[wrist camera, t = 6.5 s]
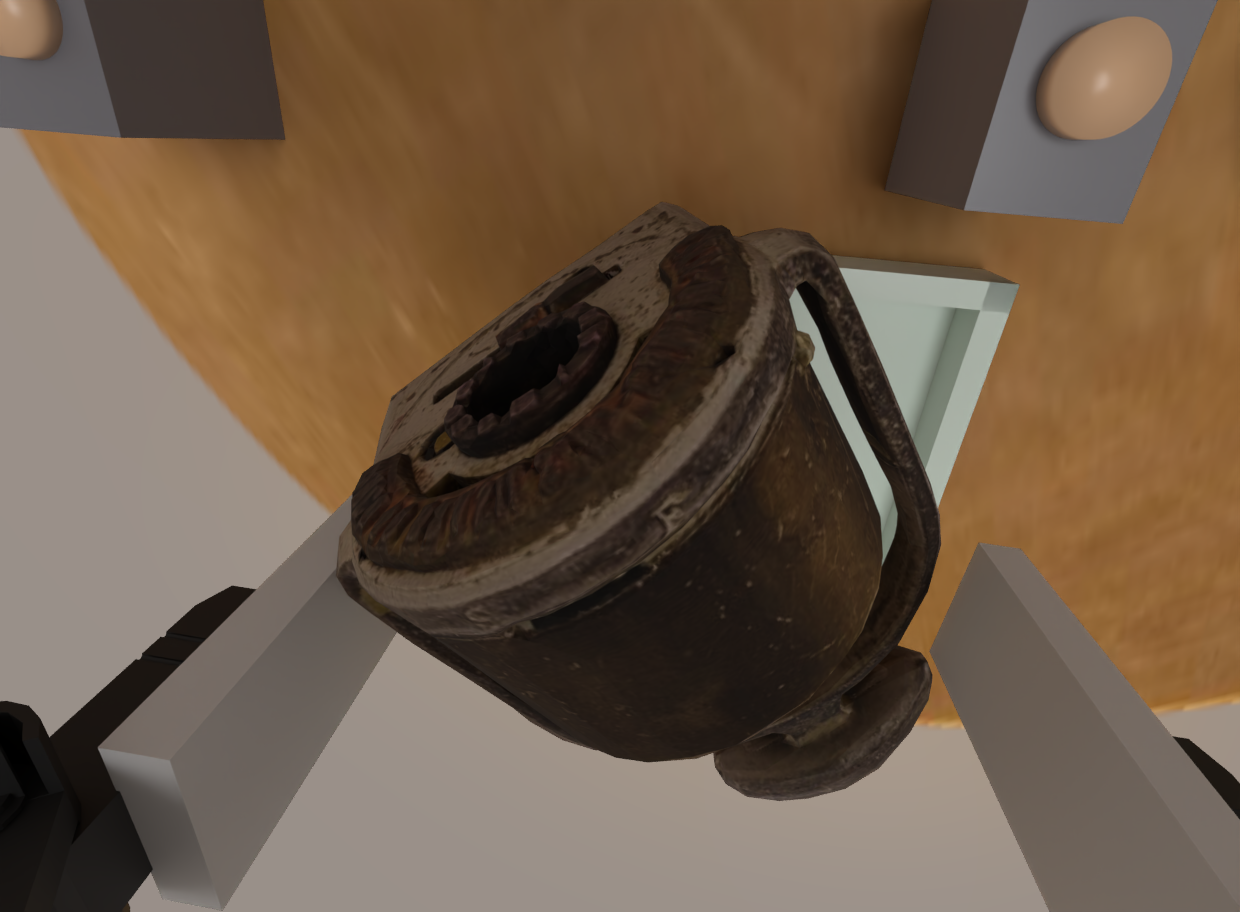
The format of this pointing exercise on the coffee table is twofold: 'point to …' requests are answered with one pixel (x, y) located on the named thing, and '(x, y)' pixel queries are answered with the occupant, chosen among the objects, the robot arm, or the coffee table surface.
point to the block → (1042, 103)
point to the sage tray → (917, 358)
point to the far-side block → (139, 68)
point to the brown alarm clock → (662, 513)
